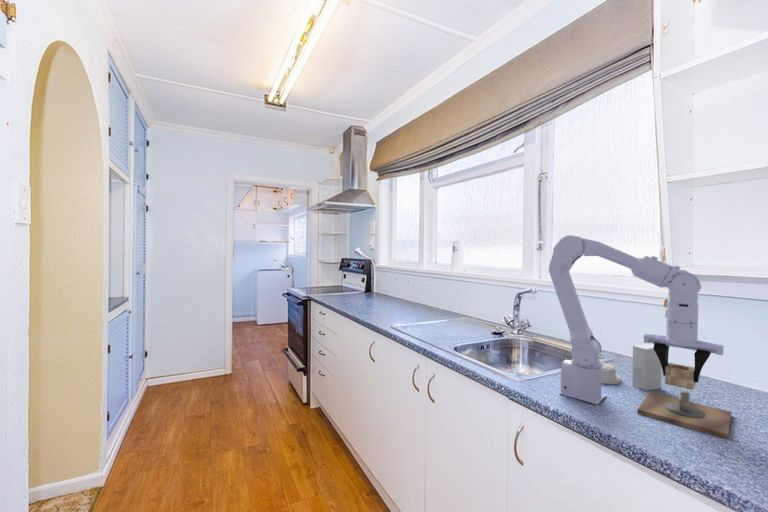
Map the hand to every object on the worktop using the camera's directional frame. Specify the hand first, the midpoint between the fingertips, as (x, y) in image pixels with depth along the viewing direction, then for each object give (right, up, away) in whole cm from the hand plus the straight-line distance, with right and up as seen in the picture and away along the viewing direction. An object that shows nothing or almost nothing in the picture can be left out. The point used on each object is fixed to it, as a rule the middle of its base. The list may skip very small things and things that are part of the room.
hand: (680, 377), depth 86 cm
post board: (+2, -9, +1) cm, 10 cm away
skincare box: (+5, -9, +18) cm, 21 cm away
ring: (0, -1, 0) cm, 1 cm away
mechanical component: (-4, -9, +25) cm, 27 cm away
